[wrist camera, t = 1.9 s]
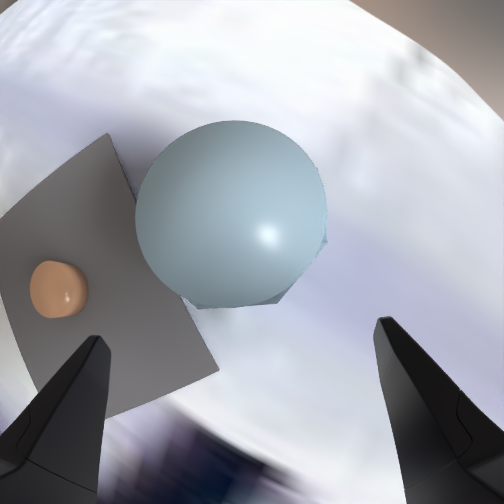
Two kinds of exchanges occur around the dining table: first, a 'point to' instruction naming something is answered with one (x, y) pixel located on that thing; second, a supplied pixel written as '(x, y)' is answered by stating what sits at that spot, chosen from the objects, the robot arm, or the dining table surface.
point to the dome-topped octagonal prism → (231, 215)
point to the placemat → (97, 284)
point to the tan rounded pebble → (58, 289)
